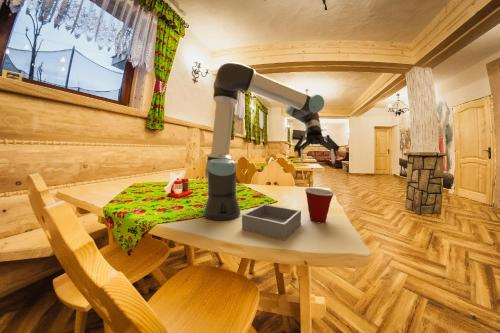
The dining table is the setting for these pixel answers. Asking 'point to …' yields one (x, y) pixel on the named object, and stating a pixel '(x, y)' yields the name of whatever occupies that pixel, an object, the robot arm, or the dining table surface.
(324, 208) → the plastic cup
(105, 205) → the dining table surface
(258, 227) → the bin
